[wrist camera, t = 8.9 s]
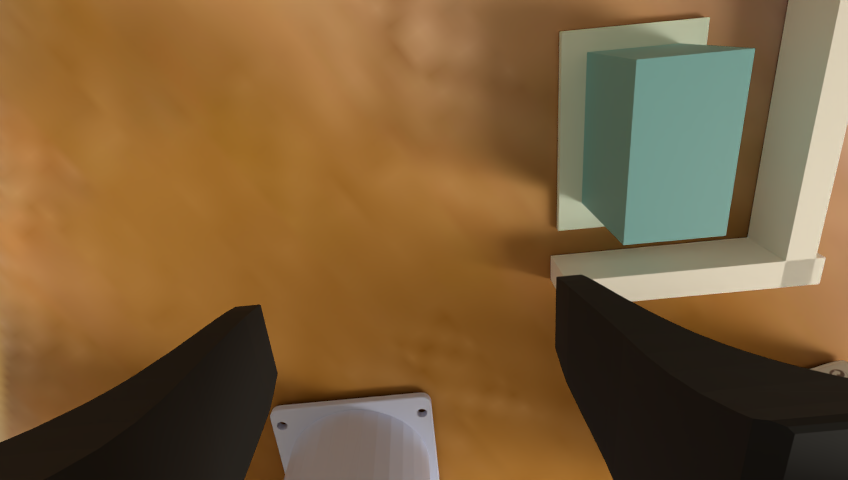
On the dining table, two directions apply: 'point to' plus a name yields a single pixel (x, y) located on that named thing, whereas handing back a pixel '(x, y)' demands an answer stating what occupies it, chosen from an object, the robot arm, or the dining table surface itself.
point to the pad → (573, 98)
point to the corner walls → (760, 182)
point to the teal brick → (664, 139)
